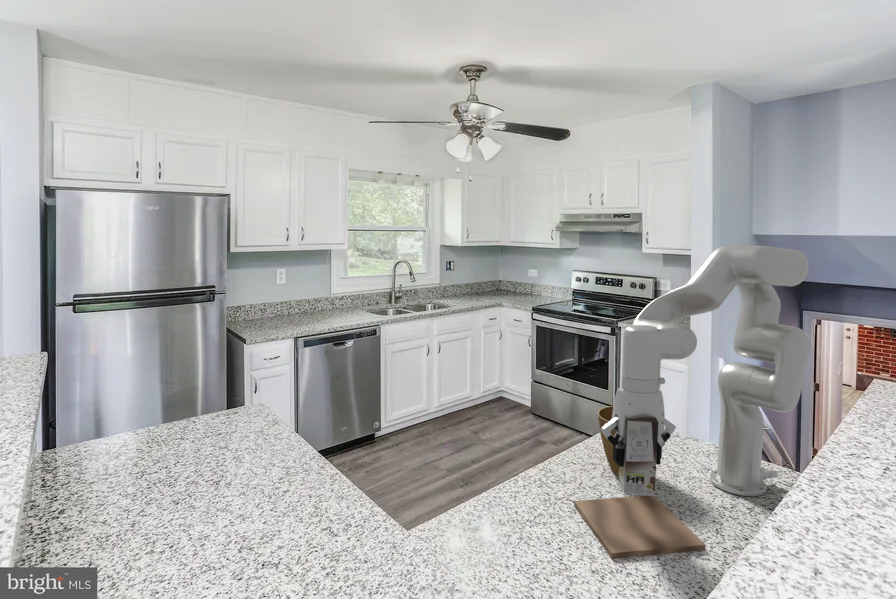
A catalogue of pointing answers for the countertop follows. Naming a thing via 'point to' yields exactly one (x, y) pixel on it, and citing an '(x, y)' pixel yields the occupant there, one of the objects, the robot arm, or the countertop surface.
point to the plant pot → (604, 418)
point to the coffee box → (640, 456)
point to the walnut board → (637, 527)
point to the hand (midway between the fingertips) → (636, 462)
